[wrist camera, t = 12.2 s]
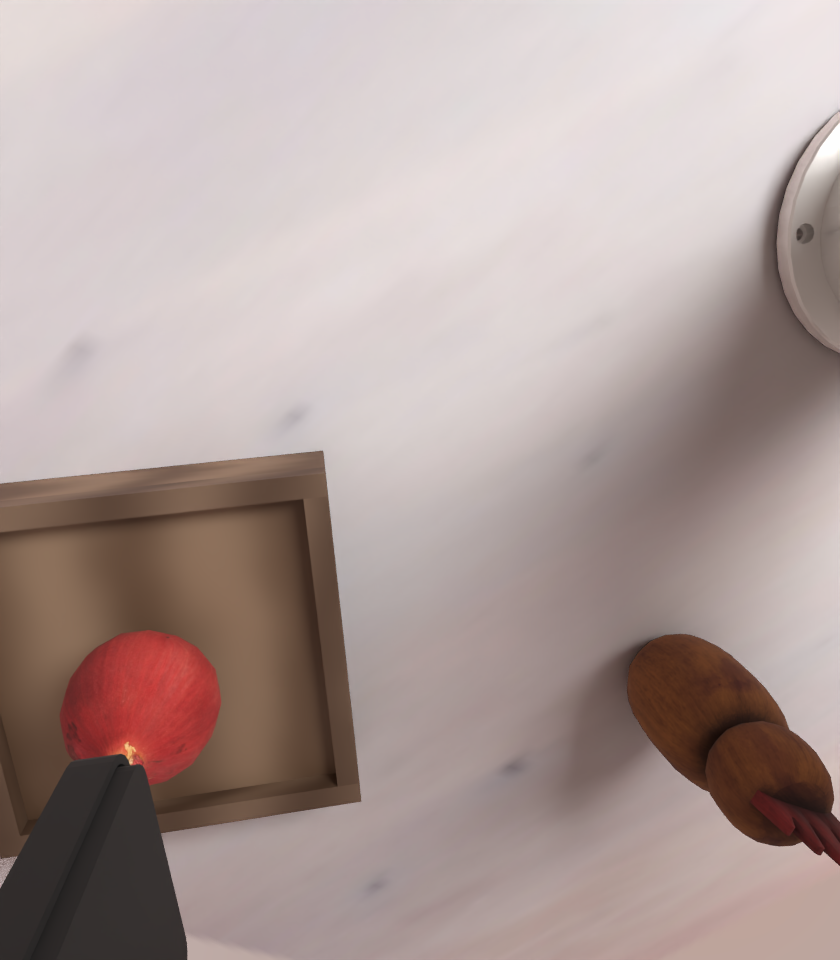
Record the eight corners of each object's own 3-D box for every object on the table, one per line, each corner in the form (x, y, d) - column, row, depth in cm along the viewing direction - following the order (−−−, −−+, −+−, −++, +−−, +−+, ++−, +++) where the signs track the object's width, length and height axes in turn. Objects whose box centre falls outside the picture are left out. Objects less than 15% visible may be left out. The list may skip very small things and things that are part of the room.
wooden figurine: (742, 671, 41) (973, 884, 27) (663, 741, 42) (850, 986, 27) (670, 594, 39) (878, 779, 25) (588, 668, 40) (747, 891, 25)
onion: (179, 739, 34) (143, 874, 26) (63, 678, 32) (-10, 802, 25) (254, 642, 33) (239, 752, 26) (139, 574, 32) (86, 669, 24)
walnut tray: (323, 450, 35) (325, 473, 31) (355, 749, 39) (361, 801, 35) (-47, 488, 33) (-93, 517, 29) (32, 798, 37) (1, 858, 33)
